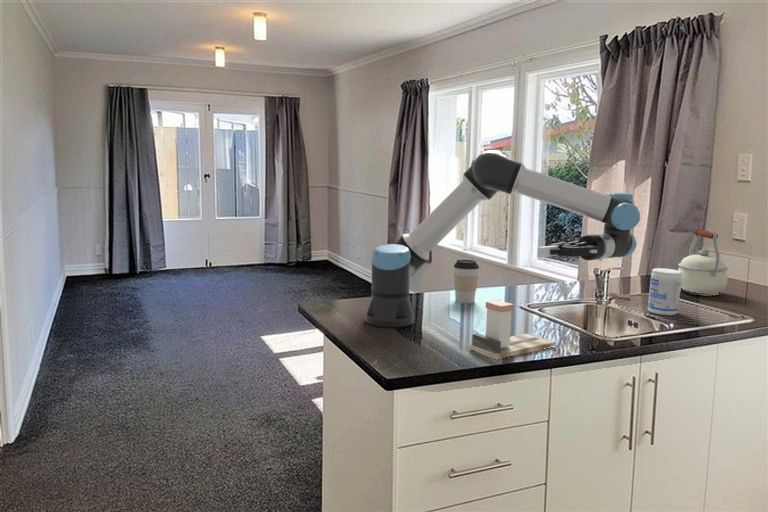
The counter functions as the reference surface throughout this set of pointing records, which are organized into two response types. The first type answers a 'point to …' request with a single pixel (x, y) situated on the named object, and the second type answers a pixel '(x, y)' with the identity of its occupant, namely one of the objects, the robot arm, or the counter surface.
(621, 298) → the tongs
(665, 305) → the supplement tub
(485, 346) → the board
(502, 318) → the block
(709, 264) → the kettle
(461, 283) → the coffee cup
